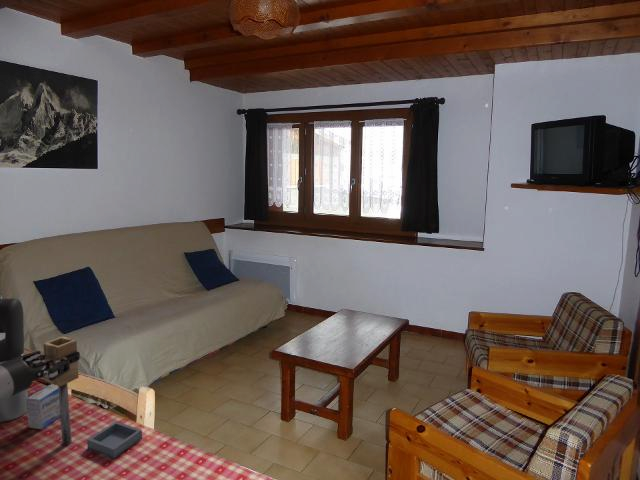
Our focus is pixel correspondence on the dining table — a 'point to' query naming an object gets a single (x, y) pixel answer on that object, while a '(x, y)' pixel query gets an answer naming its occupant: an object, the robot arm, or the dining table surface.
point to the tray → (114, 439)
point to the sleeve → (58, 350)
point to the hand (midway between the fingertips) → (70, 353)
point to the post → (64, 414)
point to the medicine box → (43, 407)
